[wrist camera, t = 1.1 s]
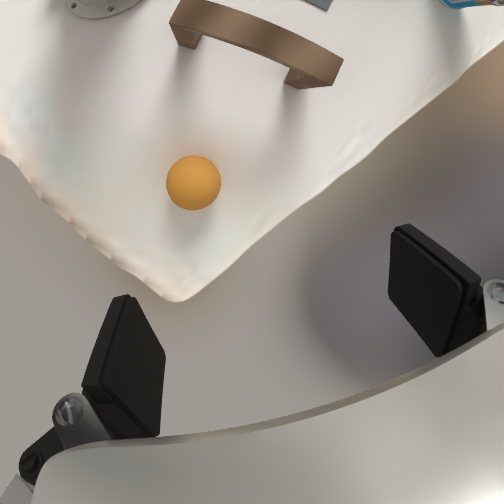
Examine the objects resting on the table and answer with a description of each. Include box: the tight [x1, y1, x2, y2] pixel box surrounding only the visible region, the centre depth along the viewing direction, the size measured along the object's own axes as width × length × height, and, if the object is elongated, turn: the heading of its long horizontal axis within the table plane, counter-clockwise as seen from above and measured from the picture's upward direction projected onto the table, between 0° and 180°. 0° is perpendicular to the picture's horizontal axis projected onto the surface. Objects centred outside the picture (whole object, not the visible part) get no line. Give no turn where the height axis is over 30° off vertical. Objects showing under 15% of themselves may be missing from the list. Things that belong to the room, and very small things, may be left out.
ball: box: [166, 156, 221, 210], centre depth 31 cm, size 6×6×6 cm
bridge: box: [169, 0, 344, 89], centre depth 23 cm, size 15×3×10 cm, turn 68°
